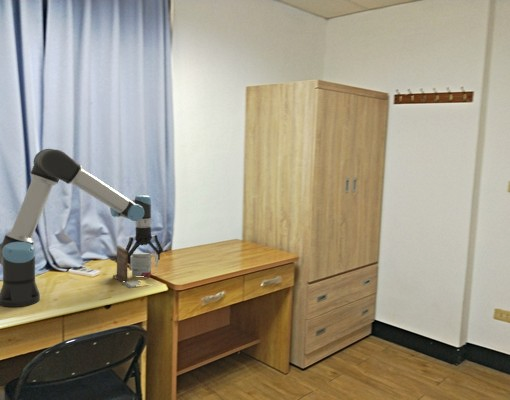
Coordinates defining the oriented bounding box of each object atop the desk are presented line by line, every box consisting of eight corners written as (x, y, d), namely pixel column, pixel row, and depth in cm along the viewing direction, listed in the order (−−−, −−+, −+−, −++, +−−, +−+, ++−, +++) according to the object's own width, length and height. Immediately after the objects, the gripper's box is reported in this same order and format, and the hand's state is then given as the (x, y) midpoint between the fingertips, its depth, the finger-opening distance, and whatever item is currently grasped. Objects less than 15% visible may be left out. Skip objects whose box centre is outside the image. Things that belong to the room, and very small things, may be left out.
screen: (120, 282, 222) (121, 251, 221) (113, 276, 232) (113, 246, 231) (127, 281, 224) (127, 250, 222) (119, 275, 234) (120, 246, 232)
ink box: (151, 275, 236) (151, 252, 235) (148, 278, 231) (148, 254, 230) (135, 274, 237) (135, 251, 236) (131, 276, 232) (131, 253, 231)
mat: (128, 288, 213) (128, 287, 213) (122, 282, 222) (122, 281, 222) (149, 285, 219) (149, 284, 219) (142, 280, 227) (142, 279, 227)
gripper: (120, 229, 222) (121, 273, 224) (169, 225, 235) (169, 266, 238) (116, 227, 228) (116, 269, 231) (163, 223, 241) (164, 263, 244)
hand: (143, 268), depth 234 cm, fingers open, 13 cm apart
